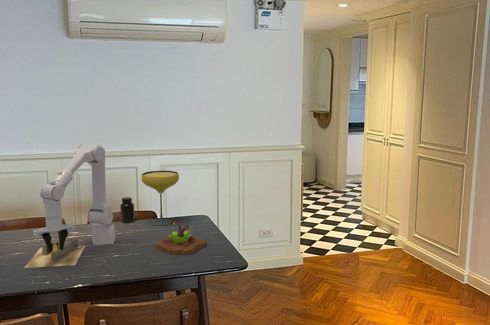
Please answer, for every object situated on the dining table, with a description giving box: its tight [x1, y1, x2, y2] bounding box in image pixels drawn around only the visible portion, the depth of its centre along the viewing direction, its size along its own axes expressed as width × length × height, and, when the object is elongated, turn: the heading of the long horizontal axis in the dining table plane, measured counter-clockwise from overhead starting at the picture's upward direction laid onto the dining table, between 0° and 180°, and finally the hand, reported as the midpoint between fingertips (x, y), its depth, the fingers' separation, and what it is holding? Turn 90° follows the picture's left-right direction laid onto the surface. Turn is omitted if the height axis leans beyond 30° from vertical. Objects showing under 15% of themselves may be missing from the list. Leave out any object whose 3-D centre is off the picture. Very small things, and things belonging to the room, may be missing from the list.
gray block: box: [41, 240, 56, 256], centre depth 190 cm, size 2×6×4 cm, turn 164°
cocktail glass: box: [141, 170, 180, 227], centre depth 235 cm, size 18×18×25 cm
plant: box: [153, 221, 206, 256], centre depth 201 cm, size 20×20×11 cm
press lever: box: [50, 237, 79, 261], centre depth 187 cm, size 19×4×7 cm, turn 175°
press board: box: [24, 245, 86, 269], centre depth 187 cm, size 18×22×1 cm
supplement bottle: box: [119, 196, 136, 224], centre depth 238 cm, size 7×7×12 cm
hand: (55, 250), depth 179 cm, fingers open, 4 cm apart
